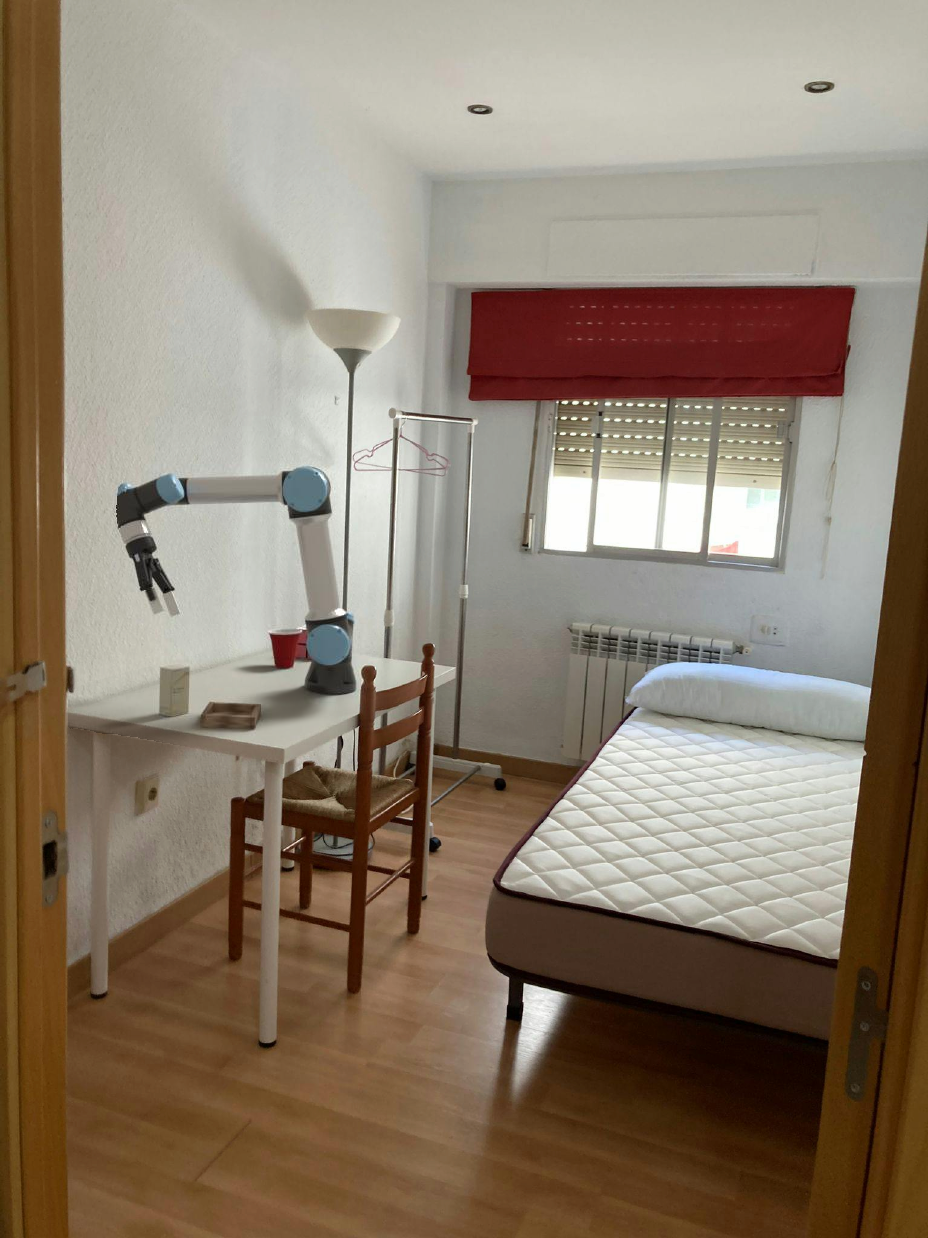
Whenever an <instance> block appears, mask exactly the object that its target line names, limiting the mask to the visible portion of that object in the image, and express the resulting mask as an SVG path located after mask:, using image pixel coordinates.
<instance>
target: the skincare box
mask: <svg viewBox="0 0 928 1238" xmlns="http://www.w3.org/2000/svg"><path fill="white" fill-rule="evenodd" d="M159 668H160V669H159V701H158V703H159V704H158V705H159V706H158V707H159V708H158V714H159V715H162V716H165V715H166V716H165V717H170V718H171V717H175V716H181V715H186V714H189V711H190V710H189V705H190V671H191V669H190V668H191V666H188V665H183V664H172V665H171V664H170V665H166V666H161V667H159Z"/></svg>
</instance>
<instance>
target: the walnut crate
mask: <svg viewBox="0 0 928 1238" xmlns="http://www.w3.org/2000/svg"><path fill="white" fill-rule="evenodd" d="M261 716H262V704H261V703H245V702H242V703H241V702H240V703H239V702H221V701H209V702H208V703H207V705H206V707H204V709H203V711H202V712H201V714H200V719H199V721H200V724H199V725H200V726H199V727H200V728H217V729H236V728H239V730H244V729H245V730H255V729H256V727H257V725H258V723H259V720H260V717H261Z"/></svg>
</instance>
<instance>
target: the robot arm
mask: <svg viewBox="0 0 928 1238" xmlns="http://www.w3.org/2000/svg"><path fill="white" fill-rule="evenodd" d="M120 484H121V485H120V486H119V487H118V493H117V505H116V509H117V510H116V513H117V515H116V517H117V524H118V527H117V530H118V529H119V528H120V529H119V530H118V531H119V535H120V534H121V537H122V538H121V540H122V542H123V544H125V550H126V552H127V555H128V557H129V558H130V559H132V562H133V564H134V568H135V573H136V578H137V581H138V587H139V590H140V592H144V593H145V597H146V599H147V601H148V603H149V606H150V608H151V610H152V613H153V615H157V614H159V613H161V612H163V611H165V608H164V606H163V603H162V601H161V599H160V596H159V594H158V591H157V588H156V586H154V584H153V583H154V582H155V584H156V585H157V587H158V589H159V590H160V592H161V593H162V595H161V596H162V597H163V600H164V603H165V605H166V608H167V610H168V613H169V615H170V617H171V618H172V617H175V616H177V615H180V614H181V610H180V608H179V605H178V602H177V600H176V597H175V594H174V591H175V590H176V589H175V587H174V586H173V585H172V583H171V581H170V579H169V577H168V575H167V574H166V572H165V570H164V568H163V567H162V565H161V562H160V560H159V558H157V557H156V558H154V556H153V553H155V552H156V551H157V549H158V547H157V545H156V541H155V540H154V537H153V536H152V532H151V530H150V527H149V524H148V522H147V520H146V517H145V515H147V514H150V513H151V512H154V511H156V510H159V509H161V508H164V507H169V506H170V507H171V506H183V505H184V506H185V505H187V506H189V505H213V504H214V505H215V504H216V505H217V504H223V505H224V504H250V503H251V504H253V503H254V504H255V503H280V504H281V505H283V506H287V511H288V512H287V513H288V519H289V521H290V522H291V523H293V524H294V525H295V526H296V535H297V540H298V541H297V542H298V547H299V553H300V560H301V566H302V574H303V580H304V587H305V591H306V599H307V607H308V613H307V614H306V615H305V617H304V623H305V624H304V625H306V631H307V643H306V646H307V650H308V653H309V655H310V656H311V657H312V660H311V663H310V666H309V668H308V670H307V673H306V675H305V679H304V689H305V690H307V691H310V692H314V693H318V694H330V695H335V694H336V695H339V694H349V693H353V692H354V691H356V690H357V678H356V675H355V671H354V668H353V663H352V661H353V659H352V657H353V641H354V625H355V618H354V617H355V615H354V614H353V613H352V612H351V611H346V610H345V609H344V608H342V607H341V604H340V603H341V602H340V598H339V597H340V595H339V590H338V582H337V576H336V570H335V564H334V557H333V555H334V554H333V550H332V542H331V534H330V529H329V528H330V527H329V522H328V521H329V519H330V518H331V516H332V515H333V510H332V505H331V504H332V503H331V496H330V495H331V491H332V486H331V481H330V479H329V477H328V475H327V474H326V473H325V472H324V471H323V470H321V469H320V468H316V467H314V466H308V465H305V466H300V467H296V468H293V470H283V471H281V472H279V474H270V475H268V474H267V475H266V474H265V475H262V474H261V475H233V476H232V475H231V476H230V475H229V476H205V477H204V476H202V477H200V476H199V477H178V476H176V475H175V473H167V474H165V475H160V476H159V477H156V478H155V479H152V480H150V481H148V482H145V483H143V484H141V485H139V486H136V487H134V486H133V485H132V484H131V483H128V482H122V483H120ZM121 526H122V527H121ZM153 581H154V582H153Z"/></svg>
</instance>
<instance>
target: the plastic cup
mask: <svg viewBox="0 0 928 1238" xmlns="http://www.w3.org/2000/svg"><path fill="white" fill-rule="evenodd" d="M301 632H302V630H299V629H295V628H278V629H277V628H276V629H270V630H268V631H267V633H268V634H269V637H270V642H271V648H272V650H271V651H272V655H273V662H274V667H275V668H277V667H279V668H278V669H291V668H290V667H292V668H294V665H295V660H296V658H295V657H296V653H297V647H298V642H299V638H300V635H301Z"/></svg>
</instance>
